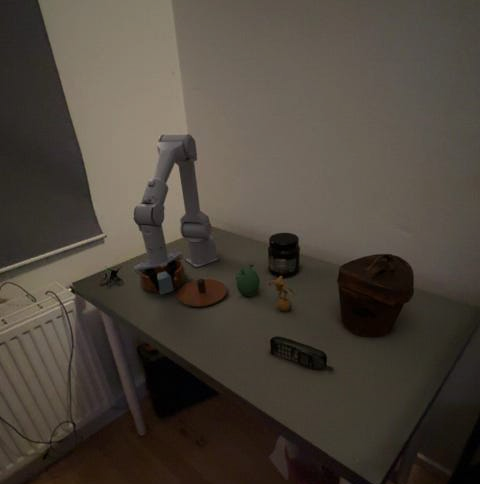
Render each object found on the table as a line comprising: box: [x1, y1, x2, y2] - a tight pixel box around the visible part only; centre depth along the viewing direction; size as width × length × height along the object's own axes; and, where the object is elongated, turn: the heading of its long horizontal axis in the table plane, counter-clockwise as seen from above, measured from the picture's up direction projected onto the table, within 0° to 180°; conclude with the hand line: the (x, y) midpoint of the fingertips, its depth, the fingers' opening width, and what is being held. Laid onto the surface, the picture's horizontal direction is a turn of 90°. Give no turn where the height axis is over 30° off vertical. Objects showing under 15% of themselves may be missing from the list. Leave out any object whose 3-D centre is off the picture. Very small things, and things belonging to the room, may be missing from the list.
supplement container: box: [267, 232, 301, 278], centre depth 115 cm, size 10×10×12 cm
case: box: [336, 253, 415, 338], centre depth 87 cm, size 18×20×18 cm
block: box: [157, 271, 174, 296], centre depth 105 cm, size 4×4×5 cm
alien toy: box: [235, 263, 261, 297], centre depth 105 cm, size 7×8×10 cm
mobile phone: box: [269, 335, 334, 371], centre depth 80 cm, size 5×3×15 cm
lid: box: [177, 278, 228, 308], centre depth 108 cm, size 15×15×5 cm
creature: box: [100, 265, 124, 287], centre depth 118 cm, size 8×5×8 cm
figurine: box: [268, 276, 296, 312], centre depth 95 cm, size 8×6×12 cm
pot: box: [138, 260, 186, 294], centre depth 116 cm, size 14×20×6 cm
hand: (164, 287), depth 106 cm, fingers closed on block, 4 cm apart
